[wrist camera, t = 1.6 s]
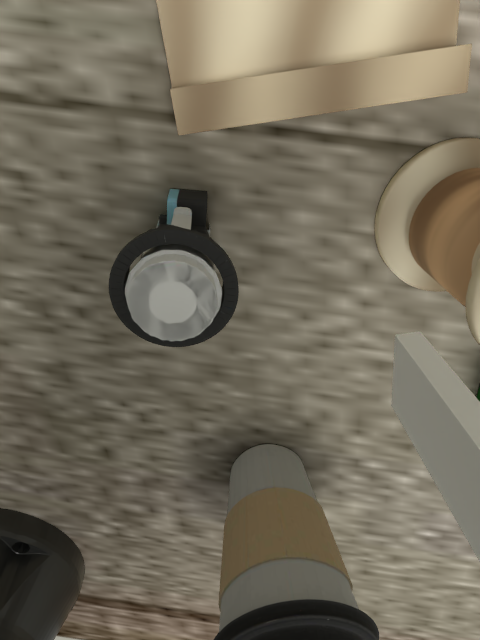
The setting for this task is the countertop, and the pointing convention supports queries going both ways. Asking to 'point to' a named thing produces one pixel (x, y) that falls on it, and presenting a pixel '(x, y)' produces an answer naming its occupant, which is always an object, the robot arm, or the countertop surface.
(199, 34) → the terminal board
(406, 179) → the bobbin
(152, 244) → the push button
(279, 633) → the coffee cup
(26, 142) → the countertop surface
